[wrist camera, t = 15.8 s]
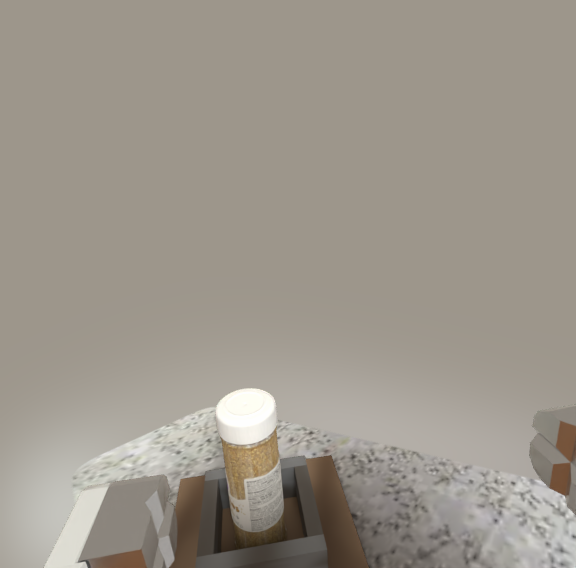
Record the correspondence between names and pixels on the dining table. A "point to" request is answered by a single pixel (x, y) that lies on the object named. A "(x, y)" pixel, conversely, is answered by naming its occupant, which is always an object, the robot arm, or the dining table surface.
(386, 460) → the dining table surface
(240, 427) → the sprinkles bottle
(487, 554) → the dining table surface
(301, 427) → the dining table surface
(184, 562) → the socket base
